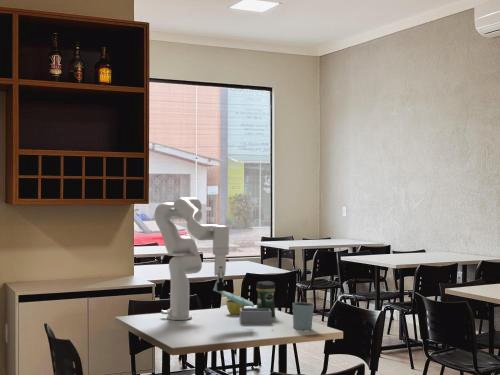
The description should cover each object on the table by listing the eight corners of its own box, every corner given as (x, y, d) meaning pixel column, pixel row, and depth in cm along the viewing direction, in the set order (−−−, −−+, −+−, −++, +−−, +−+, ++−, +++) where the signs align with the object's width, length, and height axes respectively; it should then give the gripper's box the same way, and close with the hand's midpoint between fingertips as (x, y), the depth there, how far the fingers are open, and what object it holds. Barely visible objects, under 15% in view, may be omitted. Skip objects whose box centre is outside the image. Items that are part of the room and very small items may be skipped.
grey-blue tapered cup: (288, 327, 332) (289, 302, 333) (307, 326, 336) (307, 301, 337) (298, 331, 323) (298, 305, 323) (317, 330, 327) (317, 304, 327)
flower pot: (249, 315, 365) (249, 301, 365) (234, 317, 358) (234, 303, 359) (237, 312, 373) (237, 299, 373) (222, 314, 366) (222, 300, 366)
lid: (212, 293, 324) (217, 282, 324) (212, 290, 335) (216, 279, 335) (252, 309, 325) (256, 298, 325) (250, 305, 336) (254, 294, 336)
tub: (240, 324, 338) (240, 311, 338) (239, 321, 348) (239, 308, 348) (271, 324, 339) (271, 311, 339) (269, 321, 349) (269, 308, 349)
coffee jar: (269, 315, 366) (269, 279, 366) (277, 317, 359) (277, 281, 359) (253, 316, 361) (253, 280, 361) (261, 319, 354) (261, 282, 354)
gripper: (212, 250, 338) (212, 288, 337) (213, 252, 321) (212, 292, 321) (227, 250, 338) (227, 288, 338) (229, 252, 322) (228, 292, 322)
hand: (220, 290), depth 330 cm, fingers closed on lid, 2 cm apart
